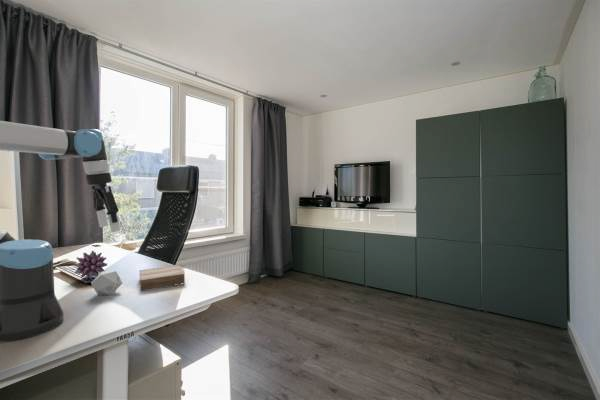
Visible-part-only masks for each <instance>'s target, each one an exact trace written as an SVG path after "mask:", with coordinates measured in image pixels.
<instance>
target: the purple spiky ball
mask: <svg viewBox="0 0 600 400" xmlns="http://www.w3.org/2000/svg"><path fill="white" fill-rule="evenodd" d="M82 255H83V257H78V256H77V257H76V260H77V261H78V262H77V263H73V266H74V267H76V269H75V271H74V274H78V275H80V274H81V275H80V278H81V279H83V278H84V277H86V279H87V278H89V279H91V278H92V277H95V278H96V277H97V276H98V275H99V273H101V272H102V271H105V269H104V267H107V266H108V263H107V262H105V260H107V257H105V256H101V255H102V252H100V253H98V254H97V252H95V250H91V252H90V253H89V254H88V253H86V252H83V253H82ZM82 277H83V278H82Z"/></svg>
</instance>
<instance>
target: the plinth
mask: <svg viewBox="0 0 600 400" xmlns="http://www.w3.org/2000/svg"><path fill="white" fill-rule="evenodd" d="M181 283H184V284H185V273H184V271H183V270H182V268H181V266H180V265H179V264H177V265H170V266H169V265H168V266H163V267H155V268H148V269H142V270H141V269H140V270H139V285H140V291H141V292H144V291H150V290H156V289H161V287H163V288H167V287H166V286H169V287H171V286H170V285H175V284H181ZM181 285H182V284H181ZM175 286H176V285H175Z"/></svg>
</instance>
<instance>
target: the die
mask: <svg viewBox="0 0 600 400" xmlns="http://www.w3.org/2000/svg"><path fill="white" fill-rule="evenodd" d="M90 283H91V286H92V287H93V289H94V291H95V293H96V295H97V296H113V294H115V293H116V291H117V290H118V289H119V288H120V287H121V285H122V284H123V281H122V280H121V277H120V276H119V274H118V272H117V271H116V270H113V271H112V270H110V271H108V270H104V271H102V272H99V273H98V276H97V277H96V276H95V278H94V279H93V280H92V281H91V282H90Z"/></svg>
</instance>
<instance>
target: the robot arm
mask: <svg viewBox="0 0 600 400" xmlns="http://www.w3.org/2000/svg"><path fill="white" fill-rule="evenodd" d="M106 150H107V149H106V145H105V140H104V136H103V133H102V131H101V130H99V129H96V128H91V129H89V128H88V129H86V128H85V129H78V130H77V131H73V130H66V129H59V128H53V127H47V126H39V125H31V124H27V123H26V124H25V123H18V122H11V121H5V120H0V151H1V152H2V151H4V152H6V151H7V152H17V153H28V154H29V153H30V154H38V156H39V157H40V158H41V159H43V160H44V161H48V160H49V161H51V160H52V161H55V160H67V159H76V158H77V159H79V158H81V160H82V165H83V169H84V170H83V171H84V173H85V174H86V175H85V179H86V184H87V185H89V186H91V190H92V201H93V209H95V211H96V216H97V221H98V226H99V228H100V229H101V228H104V227H108V226H109V227H110V232H111V233H113V232H118V231H121V227H120V222H119V217H118V212H119V211H120V210H119V208H118V207H119V206H118V205H117V202H116V199H115V197H114V194H113V191H112V187H111V185H107V184H108V183H109V184H111V182H112V181H113V180H112V175H111V173H110V166H111V165H110V162H108V157H107V151H106ZM106 211H107V212H106ZM64 314H65V313H64V310H63V308H62V306H61V304H60V302H59V301H58V298H57V296H56V294H55V273H54V251H53V246H52V244H51V243H49V242H48V241H46V240H43V239H42V240H41V239H31V238H29V239H27V238H26V239H15V238H14V237H13V236H12V235H11V234H10V233H9V232H8V231H6V230H5V229H0V341H4V342H11V341H12V342H14V341H18V340H22V339H27V338H31V337H35V336H37V335H41V334H44V333H47V332H48V331H51V330H53V329H55V328H56V327H59V326H60V325H61V324H62V323H64V321H65V317H64Z"/></svg>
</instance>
